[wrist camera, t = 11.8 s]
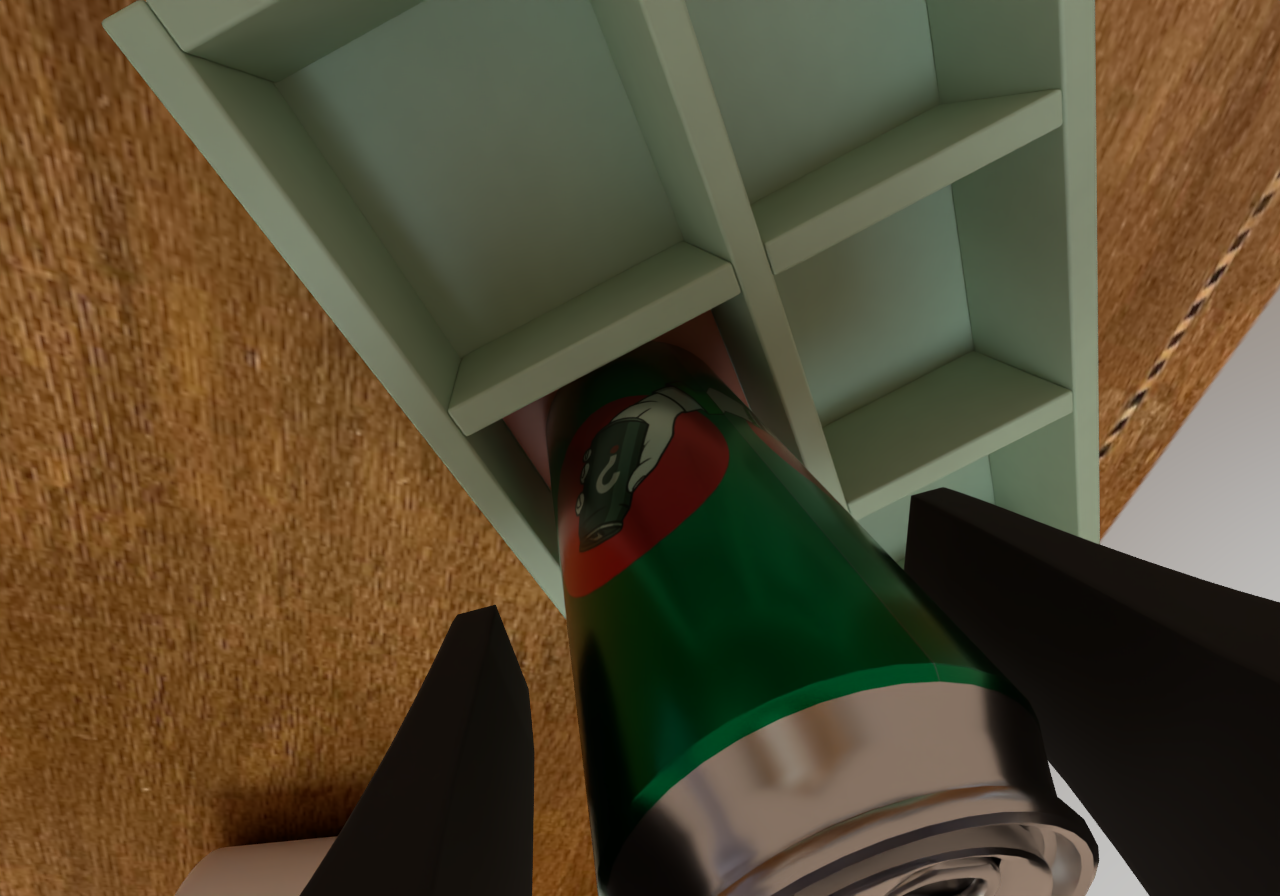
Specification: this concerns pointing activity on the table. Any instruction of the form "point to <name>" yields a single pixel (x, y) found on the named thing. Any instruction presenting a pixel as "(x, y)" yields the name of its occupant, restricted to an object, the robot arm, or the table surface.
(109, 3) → the table surface
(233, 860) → the mug
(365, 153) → the tray
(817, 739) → the soda can
